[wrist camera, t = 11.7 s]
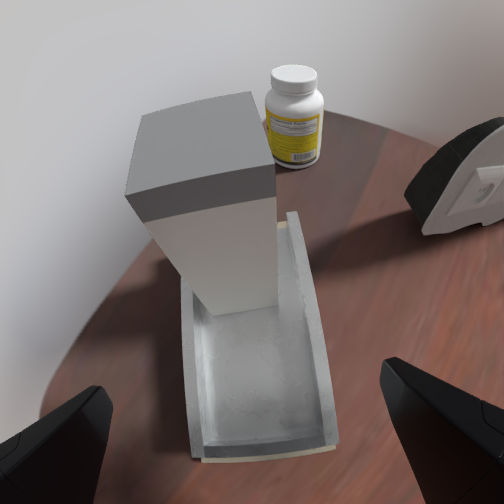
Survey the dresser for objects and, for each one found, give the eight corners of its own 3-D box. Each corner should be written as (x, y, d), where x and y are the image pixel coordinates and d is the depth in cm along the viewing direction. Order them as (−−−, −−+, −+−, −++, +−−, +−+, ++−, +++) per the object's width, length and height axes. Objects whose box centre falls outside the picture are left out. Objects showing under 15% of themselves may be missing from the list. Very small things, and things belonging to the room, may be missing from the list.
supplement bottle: (284, 132, 30) (282, 57, 22) (327, 148, 28) (335, 70, 20) (259, 159, 28) (250, 77, 20) (305, 178, 27) (310, 91, 18)
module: (278, 305, 19) (275, 163, 8) (212, 316, 19) (124, 195, 8) (266, 247, 21) (250, 91, 10) (207, 258, 21) (142, 115, 10)
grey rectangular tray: (333, 446, 15) (344, 457, 12) (205, 459, 15) (190, 471, 12) (295, 226, 24) (296, 200, 21) (192, 241, 24) (179, 217, 21)
